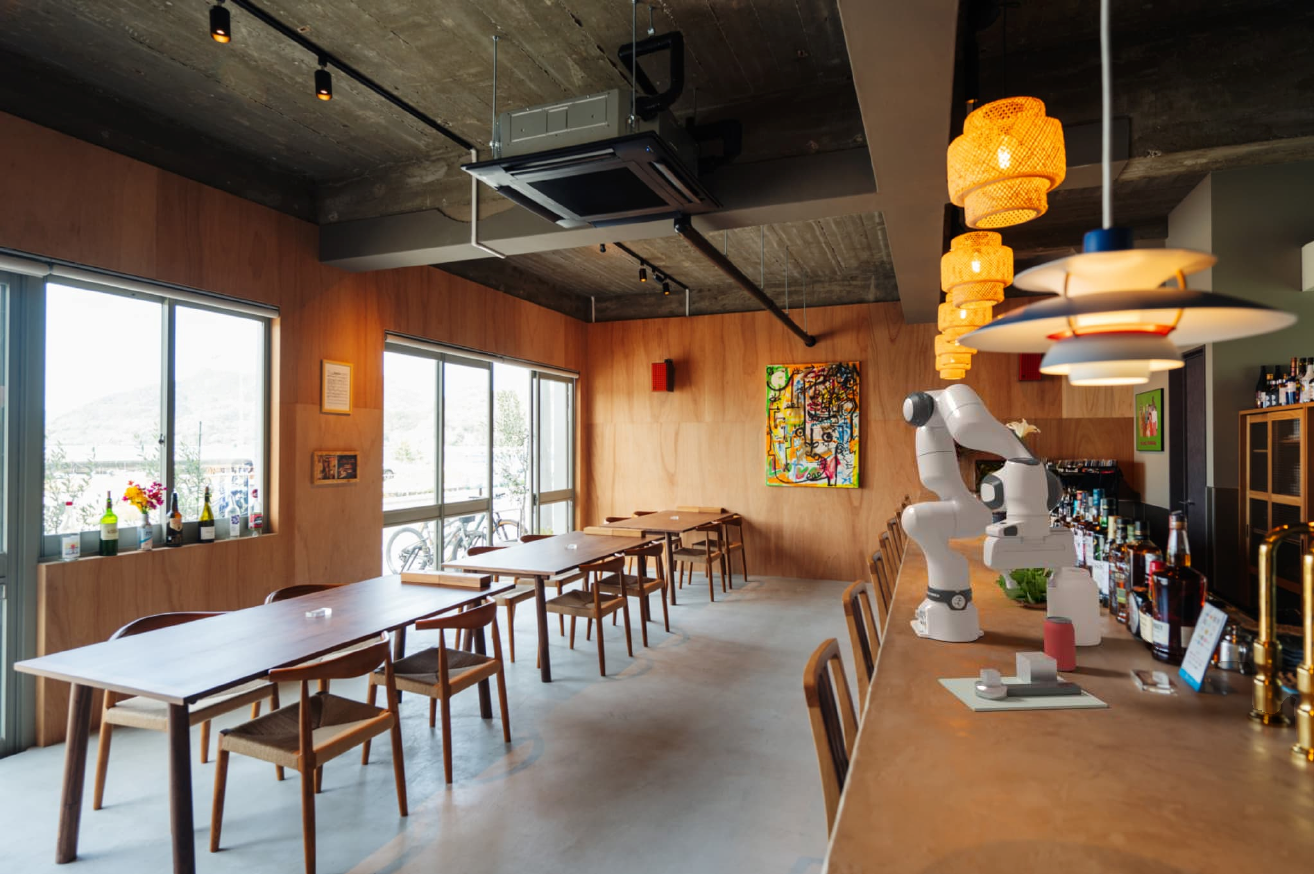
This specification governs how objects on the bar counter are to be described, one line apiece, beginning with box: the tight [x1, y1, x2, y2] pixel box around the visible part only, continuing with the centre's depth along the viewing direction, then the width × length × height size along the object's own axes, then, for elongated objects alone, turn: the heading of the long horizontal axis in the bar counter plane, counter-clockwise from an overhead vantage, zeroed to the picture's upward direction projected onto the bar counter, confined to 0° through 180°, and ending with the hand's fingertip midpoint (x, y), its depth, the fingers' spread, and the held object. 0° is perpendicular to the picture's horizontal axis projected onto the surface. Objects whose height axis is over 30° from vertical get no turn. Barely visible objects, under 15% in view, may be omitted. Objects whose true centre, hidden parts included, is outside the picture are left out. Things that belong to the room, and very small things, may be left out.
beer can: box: [1043, 616, 1077, 672], centre depth 167 cm, size 7×7×12 cm
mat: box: [938, 675, 1109, 712], centre depth 151 cm, size 18×28×1 cm, turn 90°
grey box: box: [1015, 651, 1058, 684], centre depth 156 cm, size 6×6×6 cm
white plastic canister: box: [1046, 566, 1102, 647], centre depth 190 cm, size 12×12×20 cm
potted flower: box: [994, 568, 1053, 609], centre depth 230 cm, size 25×24×18 cm
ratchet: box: [975, 668, 1082, 701], centre depth 149 cm, size 6×22×5 cm, turn 90°
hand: (1031, 587), depth 157 cm, fingers open, 8 cm apart
